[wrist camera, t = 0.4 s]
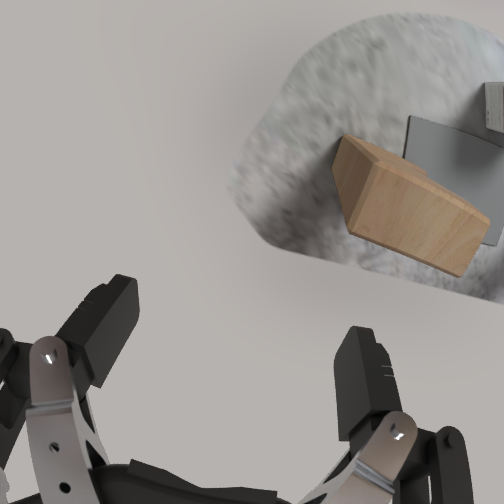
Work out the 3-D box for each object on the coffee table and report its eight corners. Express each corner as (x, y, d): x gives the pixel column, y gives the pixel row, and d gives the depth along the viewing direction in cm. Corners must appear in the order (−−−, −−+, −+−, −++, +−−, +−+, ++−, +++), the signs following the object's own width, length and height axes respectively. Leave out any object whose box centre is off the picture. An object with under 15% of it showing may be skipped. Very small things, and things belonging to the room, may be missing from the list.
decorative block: (417, 165, 33) (495, 223, 16) (401, 201, 36) (460, 283, 18) (344, 130, 33) (377, 156, 16) (329, 170, 36) (343, 233, 19)
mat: (519, 156, 28) (521, 156, 27) (495, 244, 36) (496, 246, 35) (409, 115, 30) (411, 115, 30) (389, 225, 38) (390, 226, 38)
